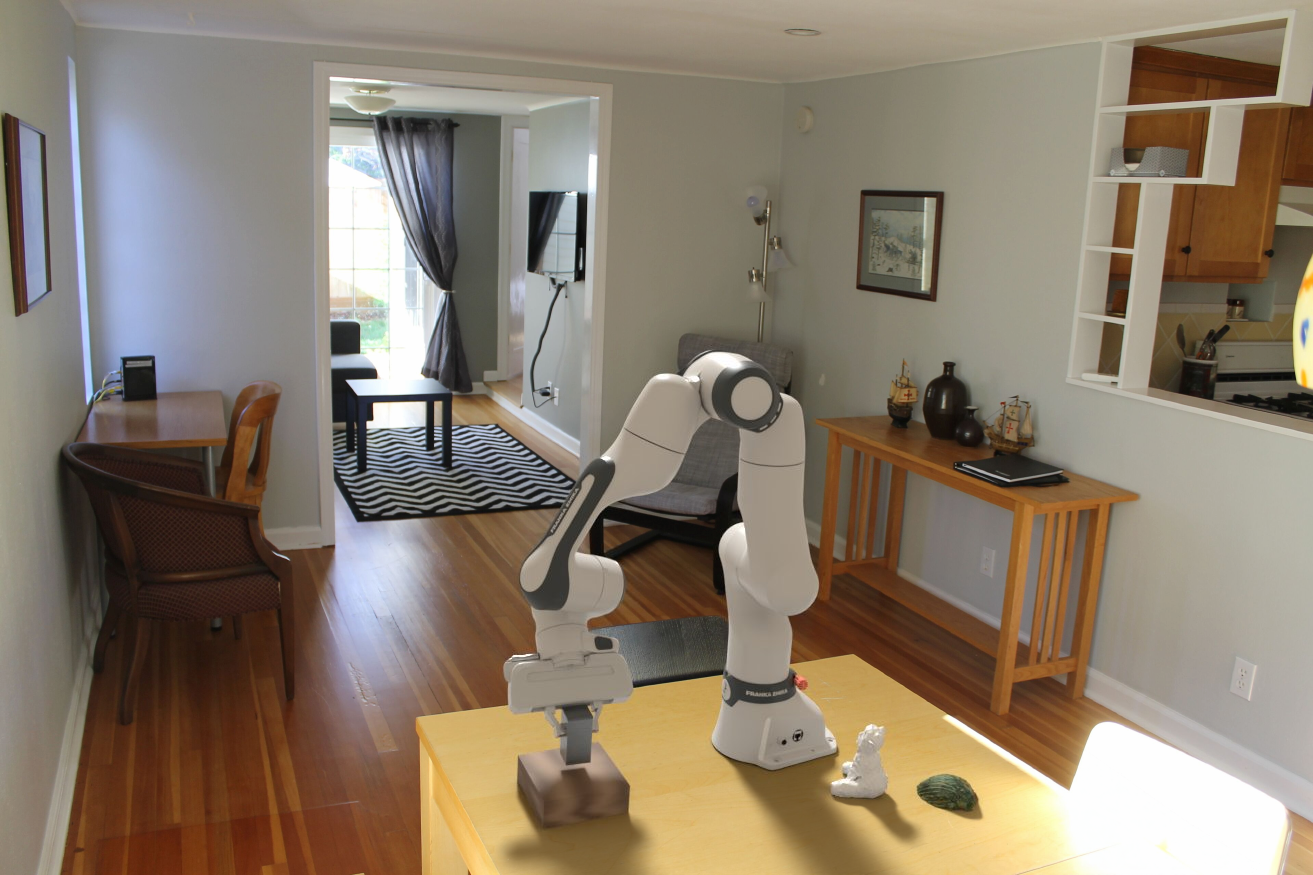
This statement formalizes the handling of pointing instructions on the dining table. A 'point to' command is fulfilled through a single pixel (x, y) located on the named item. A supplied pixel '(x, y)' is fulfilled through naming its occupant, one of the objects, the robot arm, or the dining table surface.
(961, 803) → the seashell
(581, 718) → the grey tin
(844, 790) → the seated beast figurine
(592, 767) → the walnut block
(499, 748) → the dining table surface
